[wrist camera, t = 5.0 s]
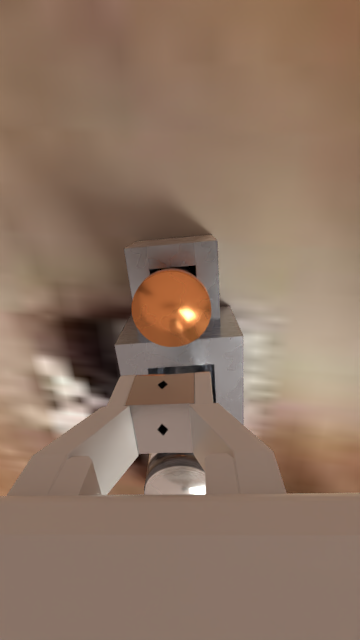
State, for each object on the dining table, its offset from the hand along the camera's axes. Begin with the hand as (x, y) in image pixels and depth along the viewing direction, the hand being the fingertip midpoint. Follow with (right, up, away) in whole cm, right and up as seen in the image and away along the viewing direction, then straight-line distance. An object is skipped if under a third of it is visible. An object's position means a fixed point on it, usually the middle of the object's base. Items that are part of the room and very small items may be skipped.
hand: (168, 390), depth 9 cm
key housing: (0, +7, +17) cm, 18 cm away
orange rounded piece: (0, +6, +16) cm, 17 cm away
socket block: (+1, -1, +20) cm, 20 cm away
